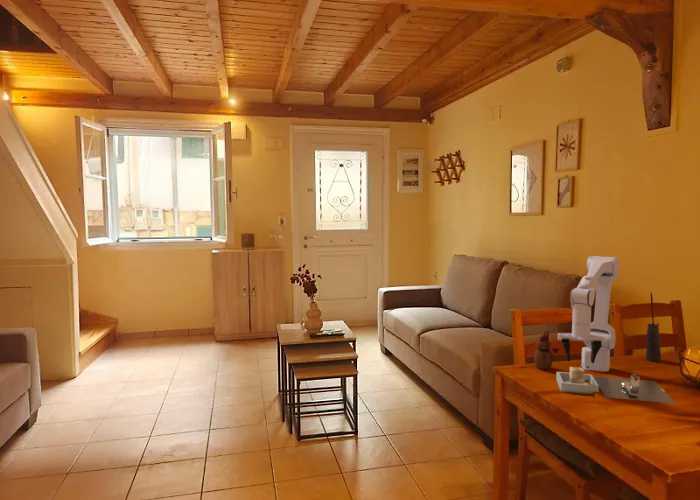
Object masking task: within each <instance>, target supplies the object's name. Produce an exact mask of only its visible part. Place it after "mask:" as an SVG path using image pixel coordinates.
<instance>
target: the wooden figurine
mask: <svg viewBox="0 0 700 500" xmlns="http://www.w3.org/2000/svg"><path fill="white" fill-rule="evenodd" d="M549 332H550V330H547V332H546V331H544V332H543V334H541V336H540V337H539V340H537V341H536V349H535V350H534V353H533V360H534V364H535V367H536V368H538V369H540V370H549V369H550V368H551V367H552V365H553V363H554V354H553V352H552V350H551V342H550V338H549V335H550V334H549Z"/></svg>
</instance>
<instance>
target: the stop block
mask: <svg viewBox="0 0 700 500" xmlns="http://www.w3.org/2000/svg"><path fill="white" fill-rule="evenodd" d="M585 371H586V370H584V368H583V367H579V366H578V367H576V366H569V373H570V377H569V383H576V384H584V374H586V372H585Z"/></svg>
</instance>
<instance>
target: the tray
mask: <svg viewBox="0 0 700 500" xmlns="http://www.w3.org/2000/svg"><path fill="white" fill-rule="evenodd" d="M593 376H594V375H593V374H590V373H589V374H588V373H584V384H576V383H569V377H570V372H567V371H566V372H564V371H556V376H555V377H556V378H555V380H556V382H557V385H558V388H559V391H560V392H563V393H571V394H573V393H574V394H583V395H585V394H586V395H595V393H599V392H600V387H599V386H598V384H597V382H596V381H595V379H594V378H593ZM588 381H589V382H590V384H589V383H588Z"/></svg>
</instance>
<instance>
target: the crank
mask: <svg viewBox="0 0 700 500" xmlns="http://www.w3.org/2000/svg"><path fill="white" fill-rule="evenodd" d="M630 379H631V381H630V382H621V386H622V387H624V388H625V389H626V390H627V392H628V393H629V394H630V395H631V396H639V380H640V376H638V375H636V373H631V375H630Z"/></svg>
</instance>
